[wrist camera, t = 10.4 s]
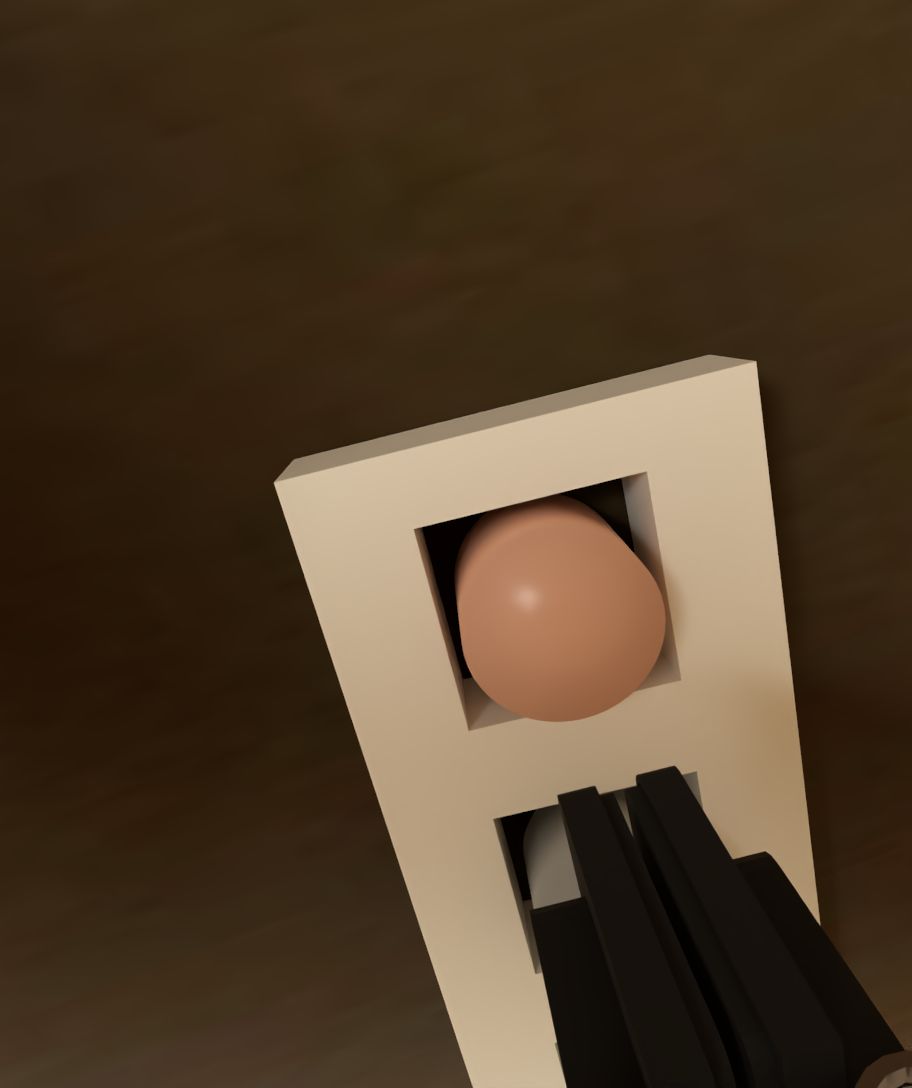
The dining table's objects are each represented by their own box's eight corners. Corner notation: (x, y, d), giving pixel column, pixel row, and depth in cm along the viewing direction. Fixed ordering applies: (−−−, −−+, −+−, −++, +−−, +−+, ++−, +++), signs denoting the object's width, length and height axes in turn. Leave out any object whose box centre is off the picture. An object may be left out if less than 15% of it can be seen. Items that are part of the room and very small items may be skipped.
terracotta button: (435, 516, 21) (438, 561, 17) (606, 474, 21) (647, 509, 17) (475, 669, 22) (487, 742, 19) (635, 630, 22) (679, 696, 18)
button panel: (294, 459, 21) (273, 482, 18) (709, 354, 20) (756, 361, 18) (507, 1132, 29) (516, 1221, 26) (803, 1066, 29) (845, 1149, 26)
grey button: (507, 796, 23) (525, 894, 19) (665, 759, 23) (715, 850, 19) (540, 920, 24) (562, 1034, 20) (688, 886, 24) (738, 994, 20)
